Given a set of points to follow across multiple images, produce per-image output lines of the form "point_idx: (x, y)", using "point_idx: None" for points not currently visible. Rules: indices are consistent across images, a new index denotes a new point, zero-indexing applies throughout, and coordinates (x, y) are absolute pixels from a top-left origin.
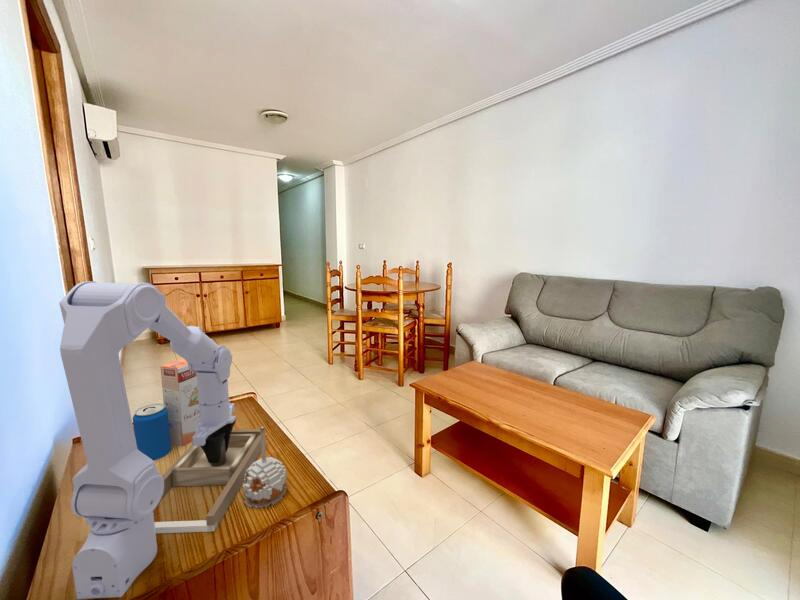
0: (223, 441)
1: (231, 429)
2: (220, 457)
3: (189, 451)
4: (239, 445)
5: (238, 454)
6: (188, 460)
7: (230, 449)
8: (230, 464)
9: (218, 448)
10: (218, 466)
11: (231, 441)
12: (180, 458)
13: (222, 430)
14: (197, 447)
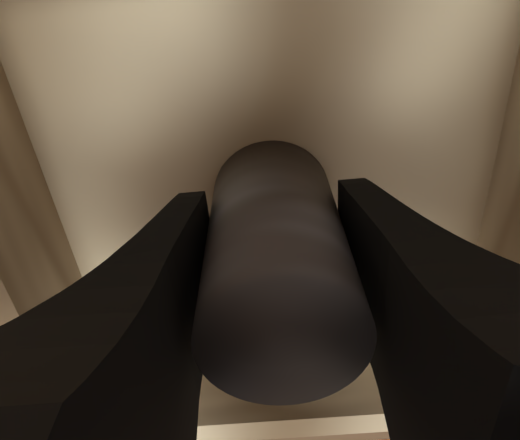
0: (287, 277)
1: (59, 321)
2: (349, 187)
3: (297, 436)
4: (18, 138)
5: (137, 82)
6: (361, 386)
7: (81, 194)
8: (294, 81)
9: (491, 254)
10: (324, 170)
11: (26, 230)
12: (345, 434)
13: (156, 423)
14: (231, 416)
